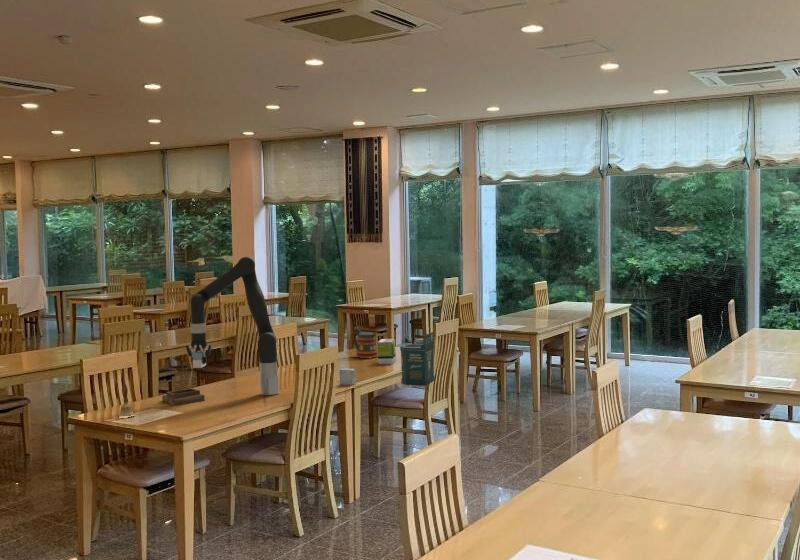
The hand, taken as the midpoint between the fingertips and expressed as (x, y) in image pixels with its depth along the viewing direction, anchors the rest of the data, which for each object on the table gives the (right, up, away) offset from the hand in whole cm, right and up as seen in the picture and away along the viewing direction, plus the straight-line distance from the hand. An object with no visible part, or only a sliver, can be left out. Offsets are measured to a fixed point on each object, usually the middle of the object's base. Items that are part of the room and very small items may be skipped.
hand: (199, 363), depth 422 cm
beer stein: (+81, -9, +130) cm, 153 cm away
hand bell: (-25, -22, -38) cm, 51 cm away
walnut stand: (-7, -19, -4) cm, 21 cm away
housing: (0, -1, 0) cm, 1 cm away
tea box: (+98, -10, +104) cm, 143 cm away
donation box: (+116, -14, +29) cm, 120 cm away
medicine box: (+77, -15, +29) cm, 83 cm away
